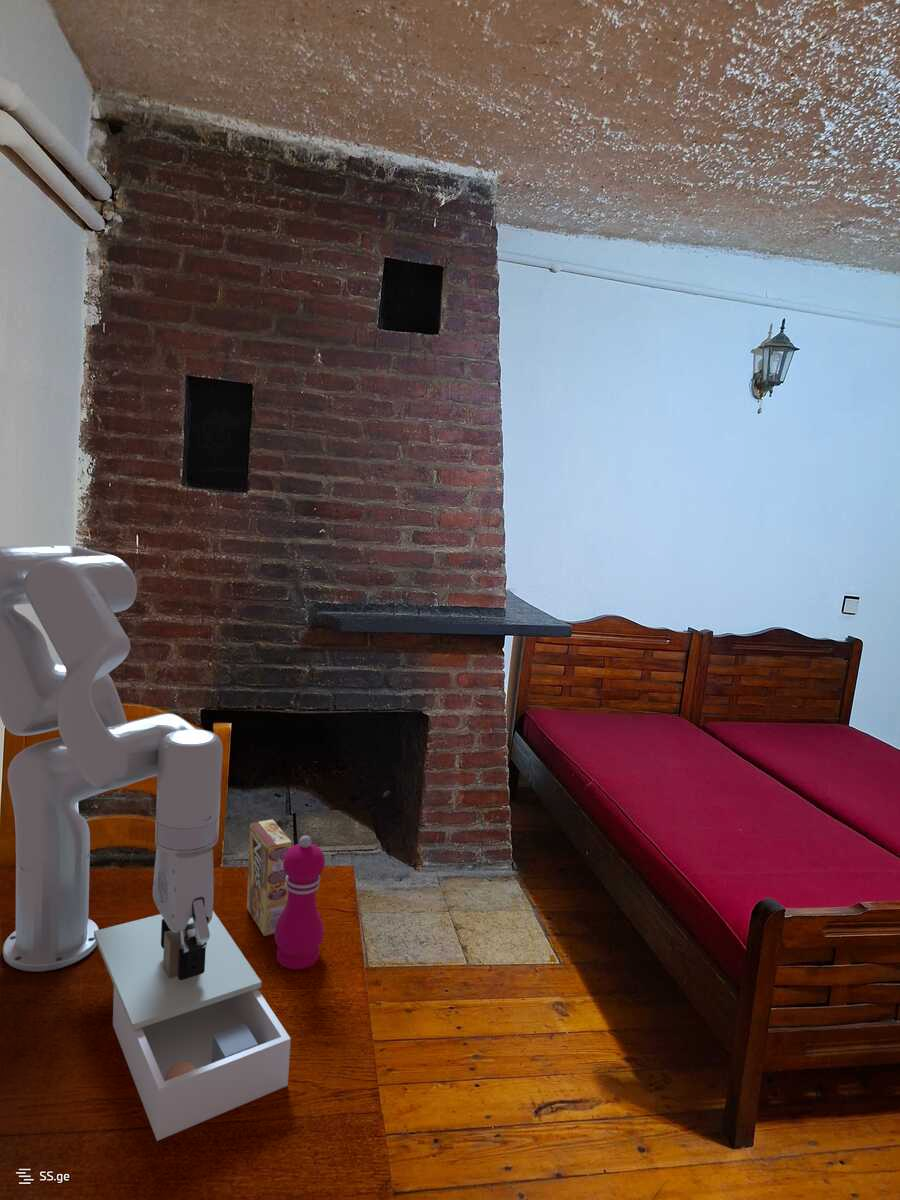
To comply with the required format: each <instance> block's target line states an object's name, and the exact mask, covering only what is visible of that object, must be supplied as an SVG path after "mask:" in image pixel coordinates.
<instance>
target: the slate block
mask: <svg viewBox="0 0 900 1200" xmlns="http://www.w3.org/2000/svg"><path fill="white" fill-rule="evenodd" d="M256 1046H258V1043H257V1042H256V1040H255V1038H254V1037H253V1035H252V1033H251V1032H250V1030H249V1028H248V1027H247V1025H246V1024H242V1025H239V1026H237V1027H234V1028H231V1029H228V1030H225V1031H223V1032H220V1033H217V1034H214V1035H213V1053H212V1063H214V1062H217V1061H219V1060H222V1059H224V1058H227V1057H230V1056H232V1055H235V1054H238V1053H240V1052H243V1051H245V1050H248V1049H251V1048H253V1047H256Z"/></svg>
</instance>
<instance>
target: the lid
mask: <svg viewBox="0 0 900 1200" xmlns="http://www.w3.org/2000/svg"><path fill="white" fill-rule="evenodd" d="M162 919H163V917H162V915H161V913H159V914H155V915H152V916H148V917H145V918H144V917H143V918H140V919H136V920H132V921H129V922H124V923H120V924H116V925H113V926H109V927H108V926H107V927H105V928H101V929H99V930H96V931H94V938H95V940H96V943H97V945H96V946H97V947H98V949H99V952H100V955H101V957H102V959H103V962H104V964H105V967H106V969H107V972H108V975H109V977H110V979H111V981H112V985H113V988H114V987H115V989H116V992H117V994H118V996H119V999H120V1001H121V1004H122V1006H123V1009H124V1011H125V1013H126V1016H127V1018H128V1021H129V1023H130V1026H131V1028H132V1031H133V1030H136V1029H139V1028H142V1027H145V1026H148V1025H151V1024H154V1023H157V1022H160V1021H163V1020H166V1019H169V1018H172V1017H175V1016H178V1015H181V1014H183V1013H186V1012H189V1011H192V1010H195V1009H198V1008H201V1007H204V1006H207V1005H210V1004H213V1003H216V1002H219V1001H222V1000H225V999H228V998H231V997H234V996H237V995H240V994H243V993H246V992H249V991H252V990H255V989H258V990H259V989H260V988H262V980H261V979H260V977H259V976H258V975H257V973H256V971H255V970H254V969H253V967H252V966H251V964H250V963H249V961H248V959H246V957H245V956H244V954H243V952H242V951H241V949H240V948H239V946H238V945H237V944H236V942H235V940H234V939H233V938H232V936H231V935H230V934H229V932H228V931H227V929H226V927H225V926H224V925H223V923H222V922H221V919H220V918H219V917H218V916H217V914H216V913H215V911H214V910H213V914H212V919H211V921H210V923H209V924H208V928H209V933H210V938H209V939H208V941H207V946H206V951H205V971H204V973H203V974H200V975H197V976H194V977H190V978H187V979H184V980H179V978H178V953H179V949H181V948H182V946H181V934H180V931H179V932H177V933H175V932H173V931H172V930H170V931H166V932H164V949H163V948H162V946H161V927H162ZM192 922H194V921H193V918H190V919H189V921H188V923H192ZM188 923H187V924H188ZM187 934H188V940H189V939H190V938H191V937H194V935H195V928H194V929H190V930H187Z"/></svg>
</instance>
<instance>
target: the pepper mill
mask: <svg viewBox="0 0 900 1200" xmlns="http://www.w3.org/2000/svg"><path fill="white" fill-rule="evenodd" d="M312 841H313V840H312V839H311V837H310V835H303V836H301V837H300V838H299V842H298V843H296V844H294V845H292V847H291V848H290V849H289V850H288V851H287V852H286V854H285V857H284V861H283V868H284V871H285V873H286V874H287V876H286V883H285V886H286V888H287V890H288V900H287V904H286V906H285V908H284V910H283V912H282V914H281V916H280V918H279V920H278V923H277V925H276V929H275V933H274V934H273V935H274V937H273V938H274V942H275V944H276V945H277V949H276V957H275V958H276V960H277V962H278V964H280V965H281V966H283V967H284V968H287V969H292V970H300V969H306V968H309V967H312V966H313V965H314V964H316V962H318V960H319V956H320V947H319V946H320V945H321V944H322V942H323V939H324V924H323V920H322V918H321V915H320V913H319V911H318V909H317V904H316V895H317V894H316V893H317V890H318V889H319V888H320V885H321V882H320V881H321V876H320V875H321V874H322V873H323V870H324V869H325V863H326V862H325V855H324V853H323V851H322V849H321V848H320V847H318V846H317V845H316V844H315V843H312Z"/></svg>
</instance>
